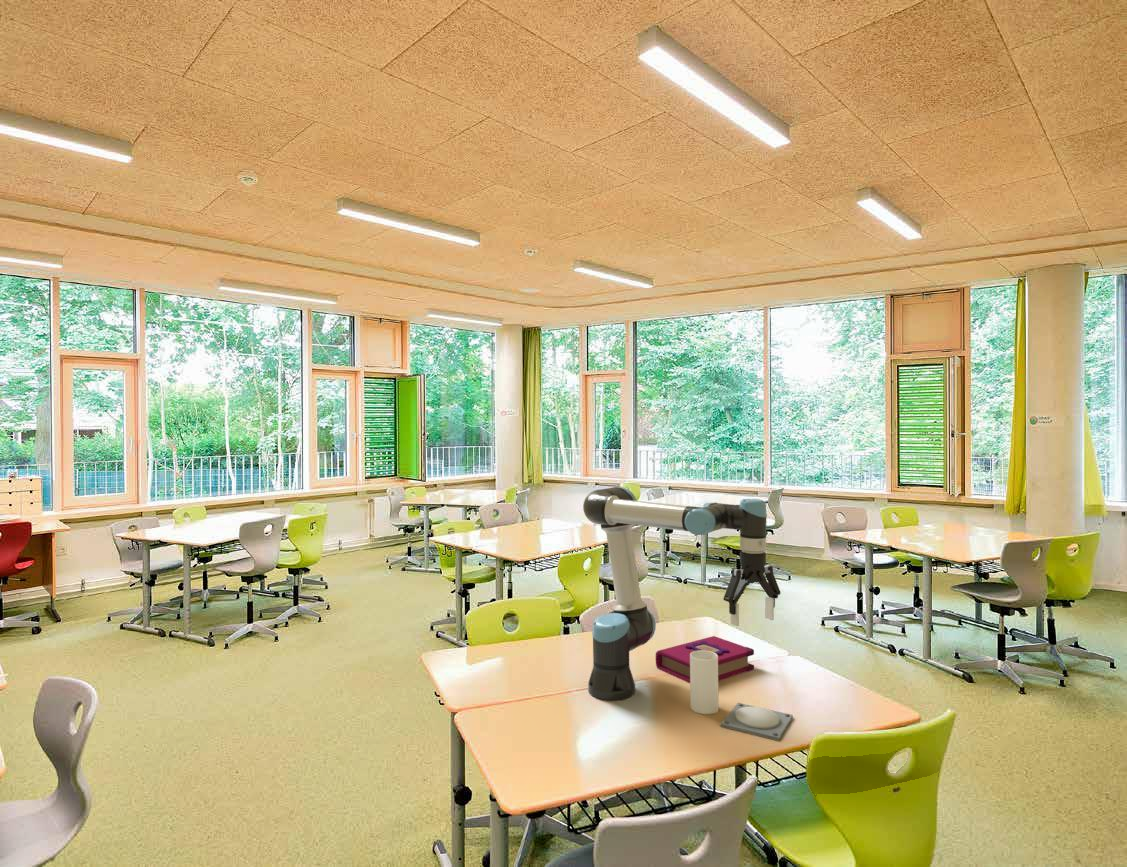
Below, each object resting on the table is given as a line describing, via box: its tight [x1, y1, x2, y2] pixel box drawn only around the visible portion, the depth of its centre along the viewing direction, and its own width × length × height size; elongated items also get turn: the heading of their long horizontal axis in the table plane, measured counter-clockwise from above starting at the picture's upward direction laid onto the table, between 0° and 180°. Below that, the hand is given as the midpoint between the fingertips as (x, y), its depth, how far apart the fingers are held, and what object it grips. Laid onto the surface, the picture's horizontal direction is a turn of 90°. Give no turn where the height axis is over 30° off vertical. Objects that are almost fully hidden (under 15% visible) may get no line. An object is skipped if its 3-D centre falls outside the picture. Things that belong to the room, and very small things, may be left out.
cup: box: [689, 650, 720, 715], centre depth 188 cm, size 8×8×16 cm
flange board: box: [720, 702, 794, 741], centre depth 179 cm, size 16×16×2 cm
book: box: [655, 635, 755, 684], centre depth 220 cm, size 21×28×8 cm
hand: (752, 621), depth 188 cm, fingers open, 13 cm apart
